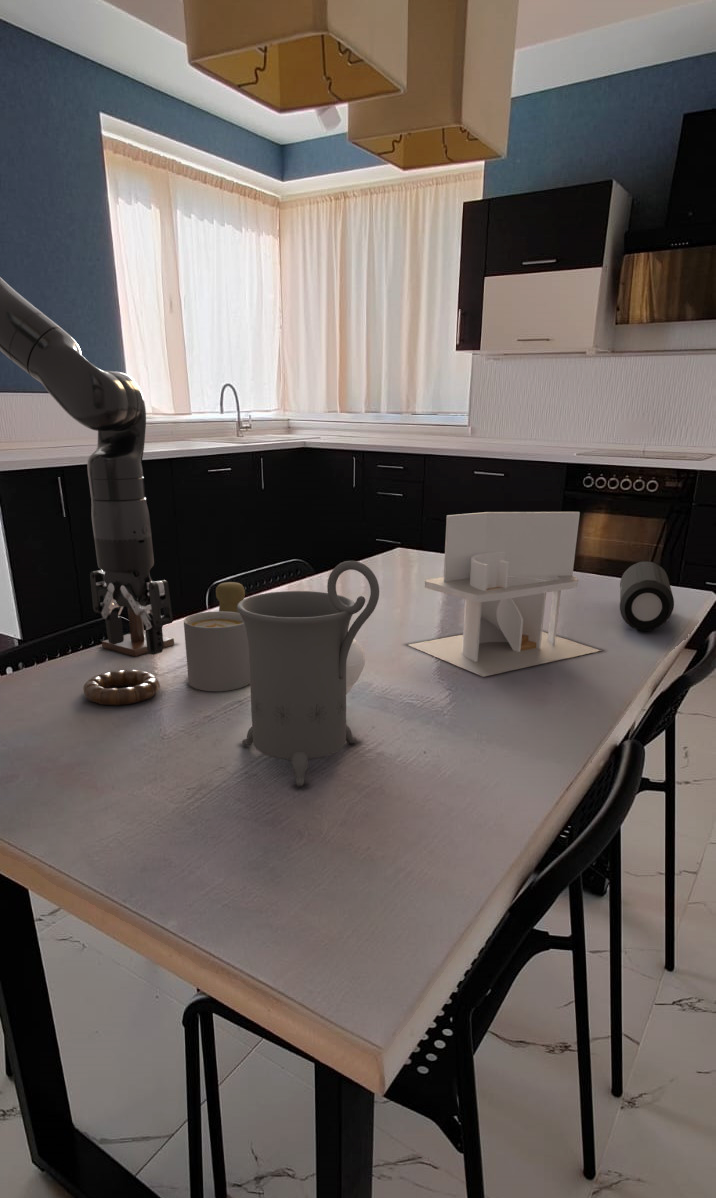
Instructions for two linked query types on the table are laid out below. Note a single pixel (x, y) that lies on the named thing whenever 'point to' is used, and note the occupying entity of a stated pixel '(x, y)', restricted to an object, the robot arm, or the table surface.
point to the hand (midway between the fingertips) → (135, 648)
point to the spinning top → (354, 664)
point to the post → (134, 638)
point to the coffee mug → (217, 651)
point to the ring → (104, 694)
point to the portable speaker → (645, 596)
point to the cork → (229, 596)
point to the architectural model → (507, 589)
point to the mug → (302, 668)
